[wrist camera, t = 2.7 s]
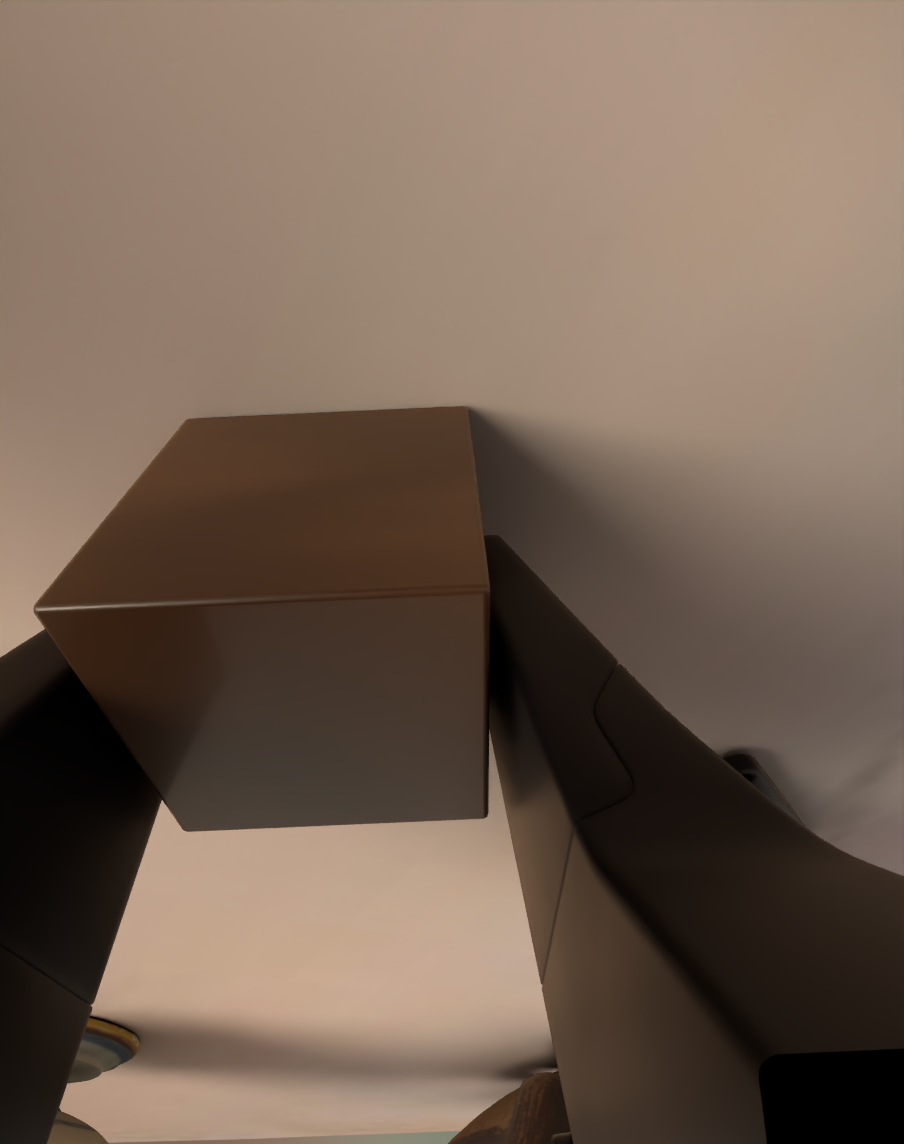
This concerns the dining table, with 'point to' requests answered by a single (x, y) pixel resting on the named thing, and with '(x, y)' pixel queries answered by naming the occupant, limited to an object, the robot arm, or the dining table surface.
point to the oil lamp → (521, 1115)
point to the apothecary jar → (93, 1075)
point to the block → (294, 620)
